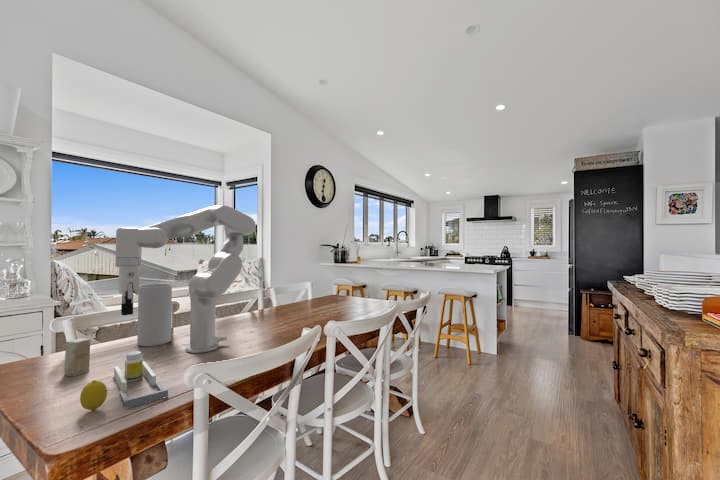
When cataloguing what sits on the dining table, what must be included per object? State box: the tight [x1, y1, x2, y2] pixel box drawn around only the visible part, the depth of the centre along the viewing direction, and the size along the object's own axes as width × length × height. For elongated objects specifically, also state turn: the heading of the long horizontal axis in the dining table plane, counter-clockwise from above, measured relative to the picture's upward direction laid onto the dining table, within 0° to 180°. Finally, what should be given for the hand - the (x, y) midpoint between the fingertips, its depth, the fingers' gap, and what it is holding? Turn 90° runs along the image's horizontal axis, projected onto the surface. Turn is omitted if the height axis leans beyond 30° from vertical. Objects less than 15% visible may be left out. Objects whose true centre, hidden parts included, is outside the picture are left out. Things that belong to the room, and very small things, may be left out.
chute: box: [113, 360, 157, 394], centre depth 107 cm, size 8×17×3 cm, turn 43°
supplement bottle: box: [124, 350, 144, 383], centre depth 108 cm, size 5×5×8 cm
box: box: [63, 337, 91, 377], centre depth 112 cm, size 5×4×11 cm
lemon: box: [79, 379, 108, 412], centre depth 88 cm, size 6×6×8 cm
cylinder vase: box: [136, 283, 173, 347], centre depth 147 cm, size 12×12×25 cm
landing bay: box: [119, 381, 169, 409], centre depth 96 cm, size 10×10×2 cm
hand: (127, 314), depth 117 cm, fingers closed
